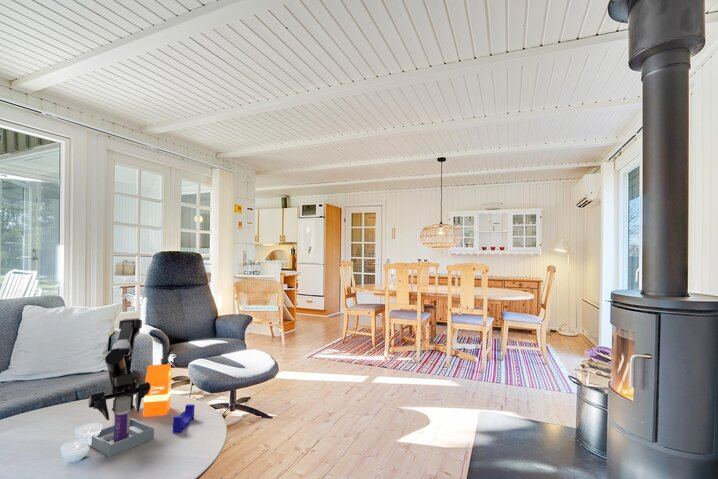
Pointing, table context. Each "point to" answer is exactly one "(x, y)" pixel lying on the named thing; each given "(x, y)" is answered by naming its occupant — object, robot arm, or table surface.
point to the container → (122, 418)
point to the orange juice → (158, 390)
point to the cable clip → (183, 419)
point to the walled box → (138, 431)
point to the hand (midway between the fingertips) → (123, 416)
